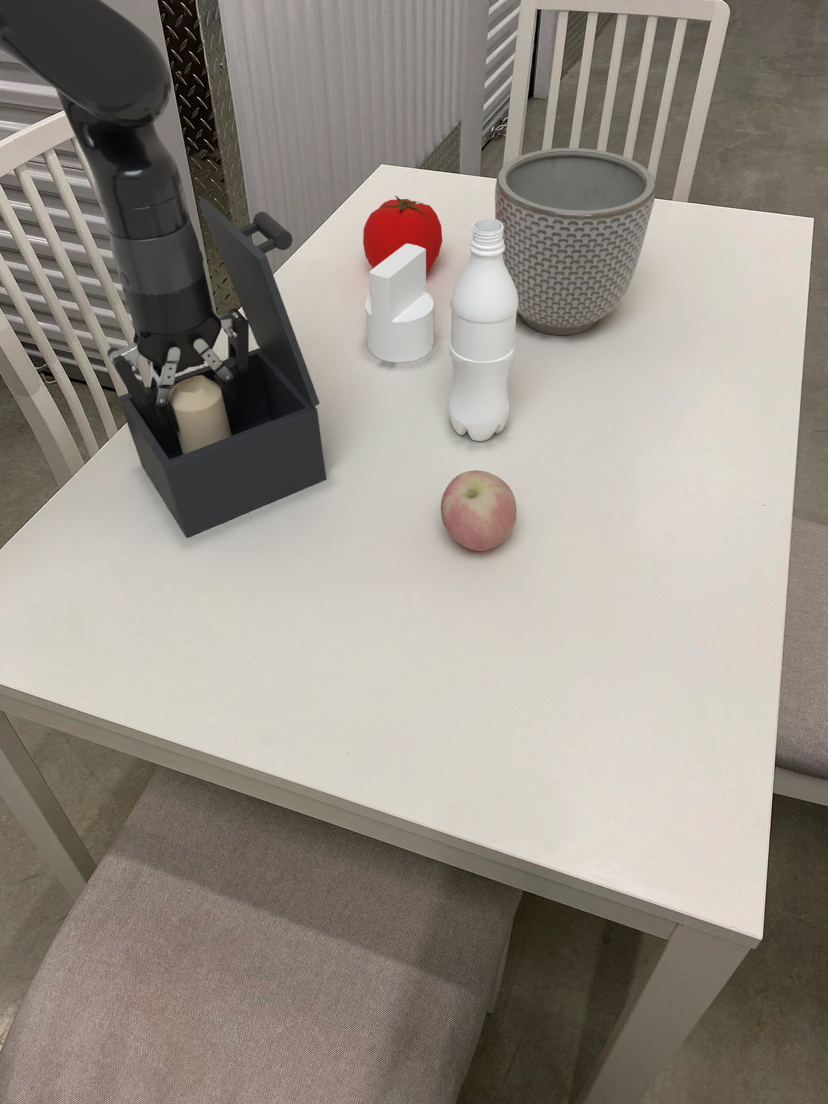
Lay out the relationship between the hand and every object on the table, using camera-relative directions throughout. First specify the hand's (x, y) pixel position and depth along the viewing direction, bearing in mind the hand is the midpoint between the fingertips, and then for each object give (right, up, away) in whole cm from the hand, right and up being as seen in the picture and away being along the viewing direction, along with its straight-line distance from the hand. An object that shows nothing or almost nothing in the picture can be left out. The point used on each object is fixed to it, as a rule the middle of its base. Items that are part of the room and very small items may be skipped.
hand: (200, 418), depth 86 cm
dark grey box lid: (+7, +10, -4) cm, 13 cm away
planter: (+43, +19, +29) cm, 55 cm away
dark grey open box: (+2, -5, +7) cm, 9 cm away
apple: (+29, -13, -1) cm, 32 cm away
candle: (0, -4, +4) cm, 6 cm away
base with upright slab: (+21, +14, +25) cm, 35 cm away
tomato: (+21, +28, +38) cm, 52 cm away
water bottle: (+30, +1, +12) cm, 33 cm away
